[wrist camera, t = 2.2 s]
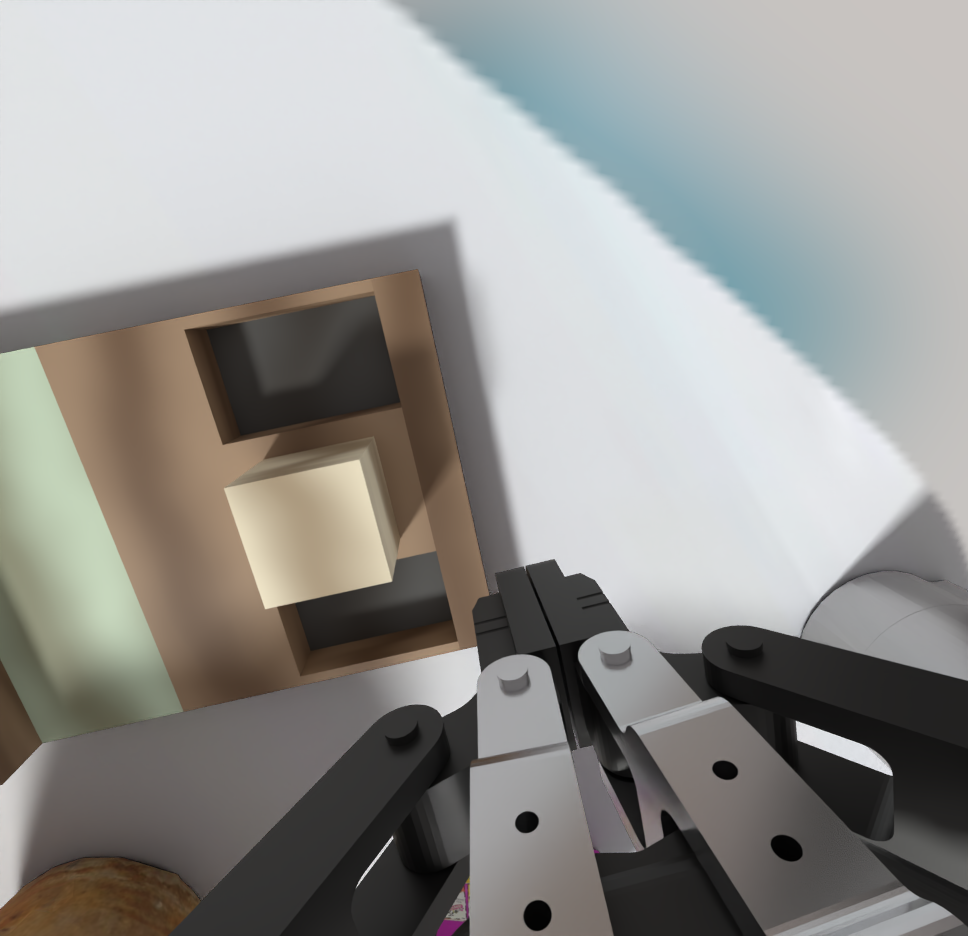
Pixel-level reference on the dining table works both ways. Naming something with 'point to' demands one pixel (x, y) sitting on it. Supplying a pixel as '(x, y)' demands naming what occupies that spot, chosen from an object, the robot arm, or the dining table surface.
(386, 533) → the block
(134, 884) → the potted plant
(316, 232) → the dining table surface
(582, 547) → the dining table surface
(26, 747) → the board
